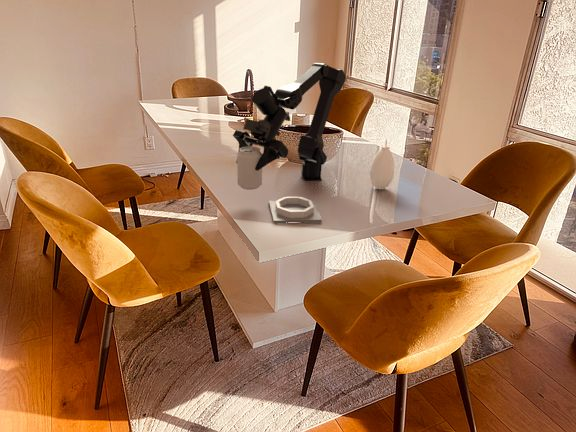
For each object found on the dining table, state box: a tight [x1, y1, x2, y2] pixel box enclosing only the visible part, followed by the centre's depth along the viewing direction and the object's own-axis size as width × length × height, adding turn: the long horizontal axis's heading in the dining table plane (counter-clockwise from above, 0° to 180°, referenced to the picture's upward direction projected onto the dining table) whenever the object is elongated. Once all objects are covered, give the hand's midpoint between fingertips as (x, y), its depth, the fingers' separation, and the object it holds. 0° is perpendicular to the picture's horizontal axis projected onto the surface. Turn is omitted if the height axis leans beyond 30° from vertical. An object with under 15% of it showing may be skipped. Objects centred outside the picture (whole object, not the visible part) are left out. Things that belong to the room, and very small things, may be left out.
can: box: [236, 145, 263, 191], centre depth 135 cm, size 8×8×12 cm
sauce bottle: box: [369, 138, 395, 190], centre depth 152 cm, size 8×8×18 cm
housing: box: [268, 196, 322, 224], centre depth 135 cm, size 14×14×3 cm
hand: (246, 166), depth 134 cm, fingers closed on can, 7 cm apart
